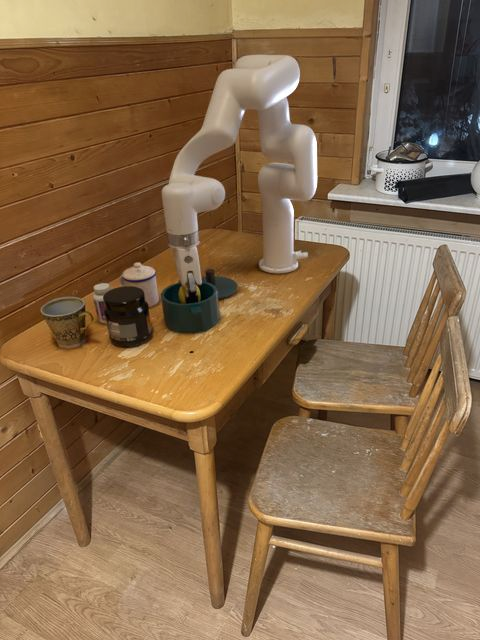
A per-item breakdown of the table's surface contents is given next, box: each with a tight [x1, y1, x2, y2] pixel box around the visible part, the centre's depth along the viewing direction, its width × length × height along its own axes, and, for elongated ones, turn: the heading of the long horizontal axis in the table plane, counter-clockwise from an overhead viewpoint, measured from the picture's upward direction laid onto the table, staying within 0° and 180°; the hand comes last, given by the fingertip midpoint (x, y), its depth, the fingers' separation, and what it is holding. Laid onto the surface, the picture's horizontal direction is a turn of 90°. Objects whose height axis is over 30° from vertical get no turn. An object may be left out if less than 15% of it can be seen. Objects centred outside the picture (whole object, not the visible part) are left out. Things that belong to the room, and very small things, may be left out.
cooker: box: [160, 280, 220, 334], centre depth 131 cm, size 14×20×8 cm
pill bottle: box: [92, 282, 111, 325], centre depth 132 cm, size 5×5×10 cm
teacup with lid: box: [118, 262, 160, 308], centre depth 140 cm, size 12×9×12 cm
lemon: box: [179, 283, 201, 304], centre depth 129 cm, size 6×6×8 cm
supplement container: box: [103, 286, 153, 348], centre depth 123 cm, size 10×10×12 cm
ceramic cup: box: [40, 296, 95, 350], centre depth 122 cm, size 13×10×10 cm
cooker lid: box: [201, 268, 238, 300], centre depth 147 cm, size 15×15×6 cm
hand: (190, 304), depth 131 cm, fingers closed on lemon, 5 cm apart
